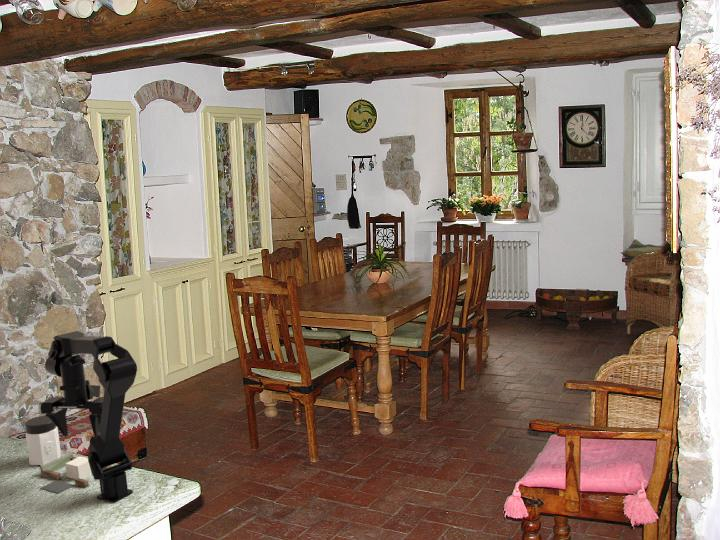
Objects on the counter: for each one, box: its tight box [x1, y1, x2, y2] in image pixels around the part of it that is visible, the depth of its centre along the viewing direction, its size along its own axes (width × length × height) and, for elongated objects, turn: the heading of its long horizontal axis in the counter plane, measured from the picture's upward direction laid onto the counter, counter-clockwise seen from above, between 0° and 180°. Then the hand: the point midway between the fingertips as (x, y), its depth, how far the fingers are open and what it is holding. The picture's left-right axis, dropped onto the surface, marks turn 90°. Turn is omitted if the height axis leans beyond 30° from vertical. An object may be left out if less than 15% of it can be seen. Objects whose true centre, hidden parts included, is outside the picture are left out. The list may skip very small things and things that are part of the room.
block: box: [65, 456, 92, 480], centre depth 204 cm, size 5×5×4 cm
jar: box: [24, 415, 62, 467], centre depth 215 cm, size 9×8×12 cm
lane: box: [40, 452, 113, 488], centre depth 205 cm, size 18×10×2 cm, turn 60°
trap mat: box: [39, 479, 75, 495], centre depth 198 cm, size 7×5×1 cm
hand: (81, 436), depth 200 cm, fingers open, 9 cm apart
